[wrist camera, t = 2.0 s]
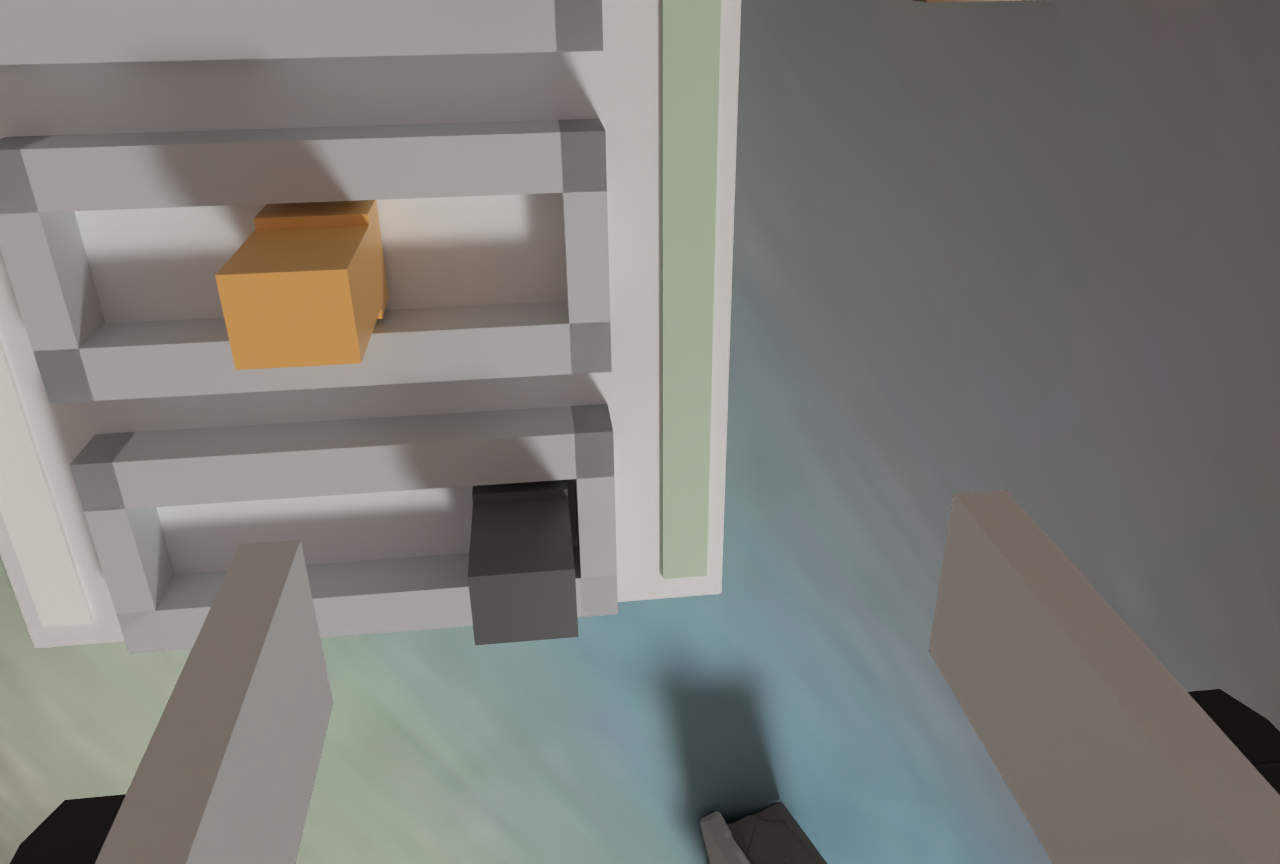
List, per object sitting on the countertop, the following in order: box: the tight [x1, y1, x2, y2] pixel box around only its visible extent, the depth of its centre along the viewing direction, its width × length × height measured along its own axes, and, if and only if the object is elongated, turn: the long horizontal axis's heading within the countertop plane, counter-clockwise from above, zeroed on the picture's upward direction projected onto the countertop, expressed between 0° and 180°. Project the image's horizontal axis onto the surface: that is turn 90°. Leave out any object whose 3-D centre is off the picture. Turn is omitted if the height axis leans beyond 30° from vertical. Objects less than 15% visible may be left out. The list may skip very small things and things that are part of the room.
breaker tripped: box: [215, 200, 389, 370], centre depth 26 cm, size 3×3×6 cm
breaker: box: [468, 480, 578, 645], centre depth 30 cm, size 3×3×6 cm
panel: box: [0, 0, 741, 653], centre depth 28 cm, size 24×27×4 cm
